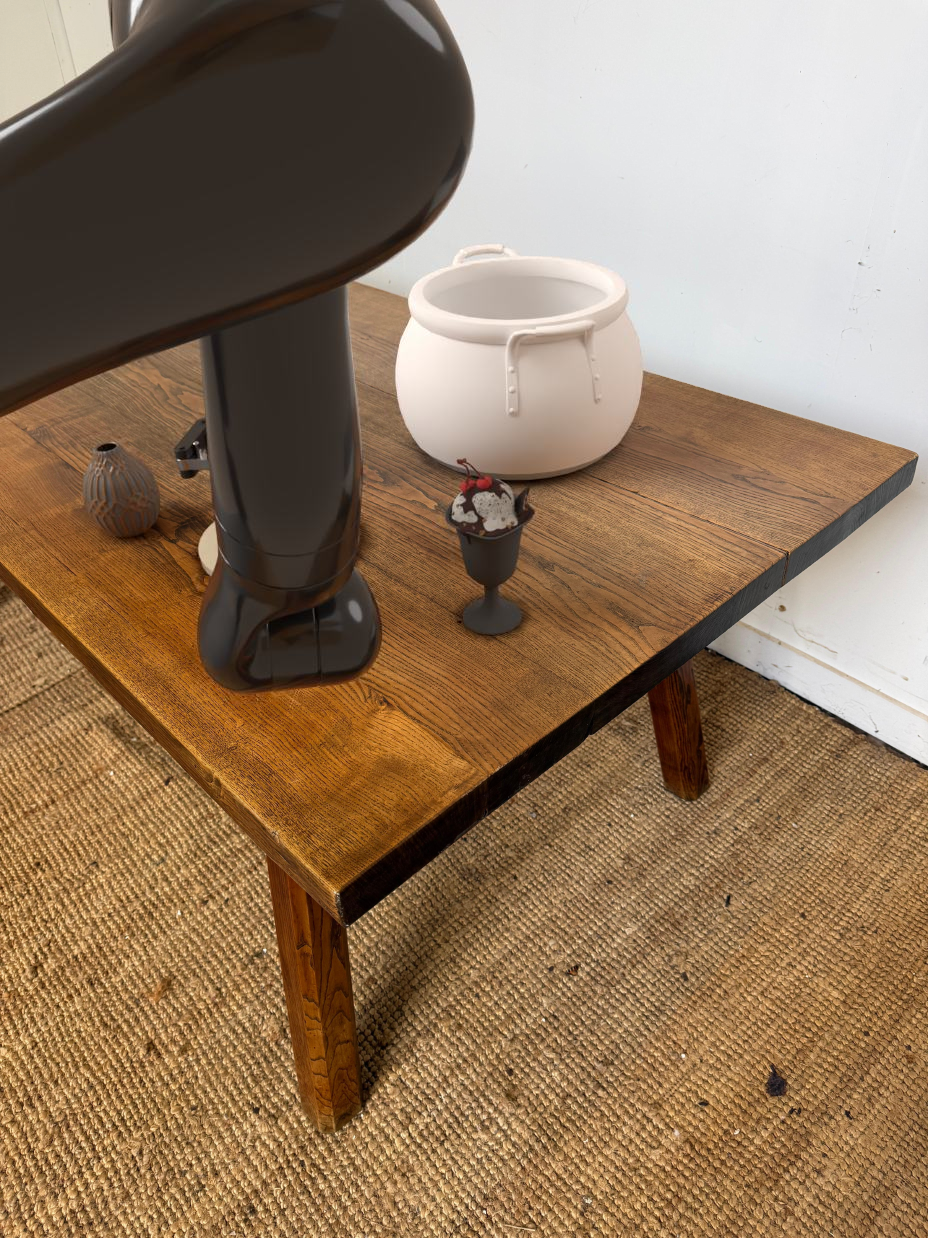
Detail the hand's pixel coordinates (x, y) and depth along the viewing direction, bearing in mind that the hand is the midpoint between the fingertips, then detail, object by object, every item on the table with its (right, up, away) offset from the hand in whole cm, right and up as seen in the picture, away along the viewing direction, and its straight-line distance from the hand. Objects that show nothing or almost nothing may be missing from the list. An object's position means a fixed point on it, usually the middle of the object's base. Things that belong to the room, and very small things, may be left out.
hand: (254, 403), depth 78 cm
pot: (+25, +1, +22) cm, 33 cm away
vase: (-14, -10, +10) cm, 20 cm away
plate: (+1, -12, +6) cm, 13 cm away
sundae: (+21, -19, -4) cm, 29 cm away
